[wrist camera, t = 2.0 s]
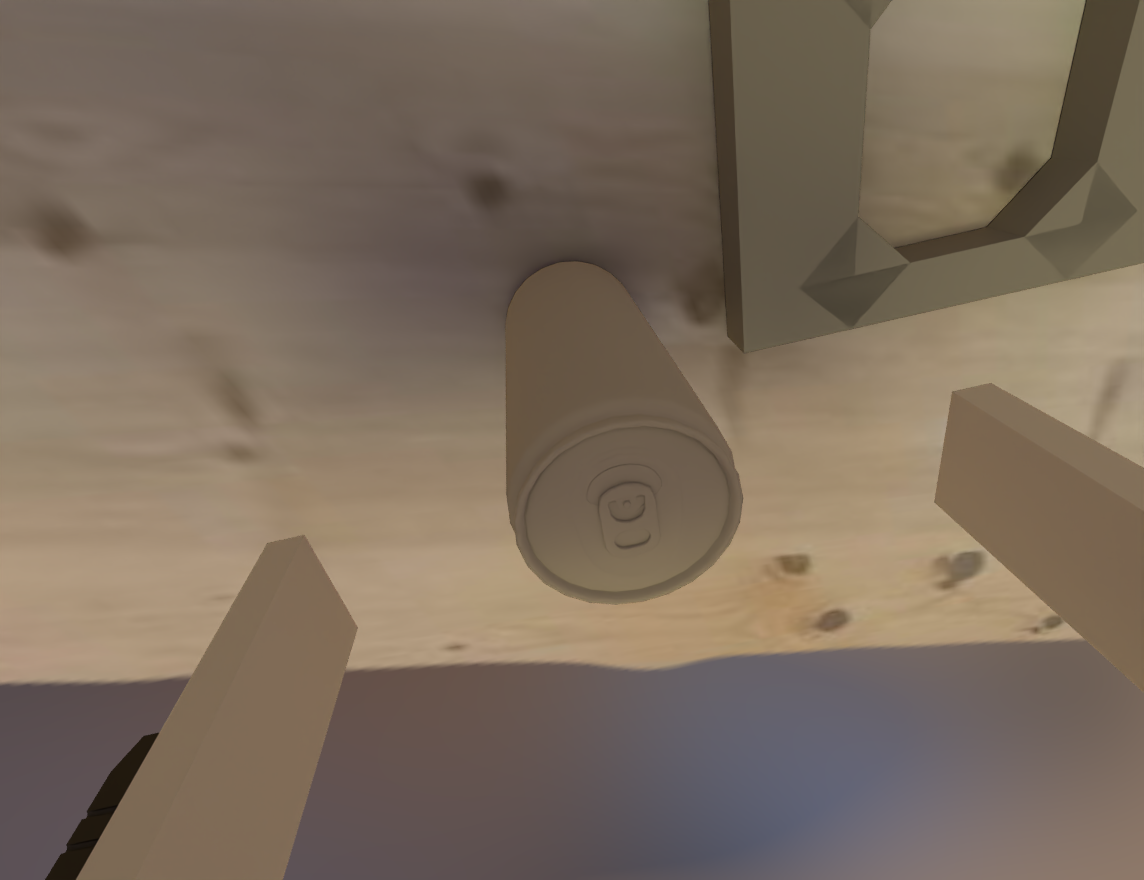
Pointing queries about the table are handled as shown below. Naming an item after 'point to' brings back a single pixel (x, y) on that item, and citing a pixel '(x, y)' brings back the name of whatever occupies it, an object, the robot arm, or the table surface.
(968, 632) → the table surface
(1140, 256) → the flat rectangular frame
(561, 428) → the beverage can
